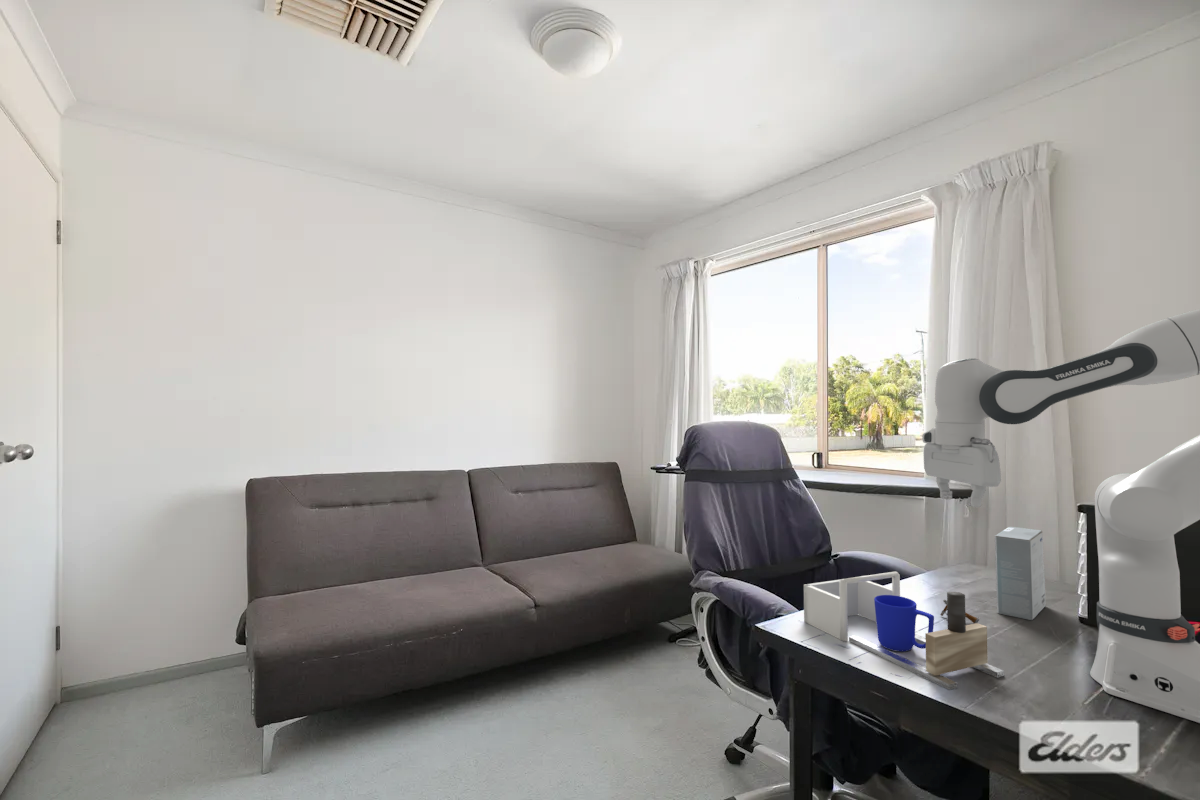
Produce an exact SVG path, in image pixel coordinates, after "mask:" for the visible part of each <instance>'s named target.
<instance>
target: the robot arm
mask: <svg viewBox="0 0 1200 800" xmlns="http://www.w3.org/2000/svg"><path fill="white" fill-rule="evenodd" d="M1198 375H1199V376H1200V308H1198V309H1195V310H1189V311H1187V312H1184V313H1179V314H1176V315H1173V316H1170V317H1167V318H1163V319H1161V320H1157V321H1154V322H1152V323H1149V324H1146V325H1144V326H1142V327H1139V328H1137V329H1134V330H1133V331H1131V332H1129V333H1127V334H1125V335H1123V336H1121V337H1119V338H1118V339H1116V340H1115V341H1114V342H1112V343H1111V344H1110V345H1108V346H1107V347H1105V348H1103V349H1101V350H1099V351H1097V352H1095V353H1092V354H1090V355H1087V356H1084V357H1081V358H1077V359H1073V360H1070V361H1067V362H1064V363H1061V364H1057V365H1054V366H1052V367H1050V366H1049V367H1047V368H1043V369H1038V370H1025V369H1024V370H1021V369H1019V370H1018V369H1013V370H1011V369H1010V370H1002V369H999V368H996V367H994V366H992V365H989V364H987V363H985V362H984V361H982V360H981V359H979V358H965V359H958V360H953V361H949V362H946V363H945V364H943V365H942V366H941V367H939V369H938V370H937V372H936V379H935V387H934V390H935V391H934V399H935V400H934V402H935V403H934V404H935V406H936V410H937V411H936V412H937V413H936V417H935V420H934V422H935V423H934V427H933V428H931V429H929V430H928V431H925V432H923V434H922V436H921V437H922V438H921V439H922V443H924V446H923V469H924V471H925V474H926V475H927V476H930V477H934V478H936V480H935V481H936V485H937V486H938V489H939V492H940V493H939V497H940V499H941V500H948V501H949V500H953V490H951V488H950V484H949V483H951V482H950V481H955V482H959V483H965V484H970V490H972V492H971V495H970V497H969V496H968V497H967V501H968V502H967V504H968V506H969V507H972V508H981V507H982V505H983V504H982V502H983V501H982V500H983V497H984V495H985V493H986V491H987V487H989V488H990V487H991V488H993V487H998V486H999V485H1000V483H1001V482H1002V474H1001V472H1002V471H1001V464H1000V458H999V453H998V450H996V447H995V445H994V444H993V442H991V440H990V439H988V438H986V425H985V424H986V420H987V418H990V419H992V420H993V421H996V422H998V423H1001V424H1003V425H1004V424H1006V425H1020V424H1024V423H1026V422H1027V423H1028V422H1029V421H1031V420H1034V419H1035V418H1036V417H1038V416H1040V415H1041V414H1042V413H1043V412H1045V411H1046V410H1047V409H1048V408H1049V407H1051V406H1053V405H1055V404H1057V403H1060V402H1062V401H1066V400H1069V399H1072V398H1075V397H1079V396H1082V395H1085V394H1089V393H1092V392H1096V391H1100V390H1103V389H1106V388H1111V387H1116V386H1117V387H1118V386H1128V385H1129V386H1150V385H1158V384H1164V383H1169V382H1176V381H1179V380H1185V379H1187V378H1188V379H1189V378H1192V377H1195V376H1198ZM1094 514H1095V529H1096V531H1095V532H1096V545H1097V547H1096V548H1097V556H1098V583H1099V584H1098V587H1099V588H1098V589H1099V591H1098V592H1099V600H1098V601H1097V602H1096V625H1097V629H1098V639H1097V644H1096V645H1097V646H1096V652H1095V657H1094V661H1093V663H1092V666H1091V669H1090V672H1089V675H1090V676H1091V677H1092V679H1094V681H1096V682H1097V683H1098V684H1100V685H1101V686H1102V689H1103V690H1104V692H1105V693H1107V694H1109V695H1112V696H1115V697H1118V698H1121V699H1125V700H1126V701H1127V700H1128V701H1131V702H1134V703H1136V704H1140V705H1143V706H1146V707H1149V708H1153V709H1154V710H1158V711H1161V712H1165V713H1168V714H1171V715H1174V716H1177V717H1180V718H1183V719H1186V720H1189V721H1193V722H1196V723H1198V724H1200V643H1199V642H1198V641H1197V640H1196V632H1198V631H1200V628H1199V627H1200V624H1199V623H1195V624H1191V623H1190V622H1189V621H1188V620H1186V618H1185V617H1184V616H1183V615H1182V614H1181V612H1182V609H1181V579H1180V578H1181V577H1180V576H1181V574H1180V567H1179V564H1178V558H1177V550H1176V544H1175V535H1176V534H1177V533H1179V532H1181V531H1182V530H1183V529H1186V528H1187V527H1189V526H1191V525H1193V524H1194V523H1197V522H1198V521H1200V434H1198V435H1196V436H1195V437H1193V438H1191V439H1188V440H1186V441H1185V442H1183V443H1181V444H1180V445H1177V446H1175V448H1173V449H1172V450H1170V451H1169V452H1168V453H1166V454H1164V455H1163V456H1161V457H1160V458H1158V459H1156V460H1155V461H1153V462H1151V463H1150V464H1148V465H1147V466H1145V467H1143V468H1141V469H1140V470H1138V471H1137V472H1134V473H1131V472H1129V473H1128V472H1126V473H1125V472H1124V473H1119V474H1118V473H1117V474H1114V475H1112V476H1110V477H1108V478H1105V480H1104V479H1103V481H1102V482H1100V484H1099V485H1098V486H1097V488H1096V490H1095V493H1094Z"/></svg>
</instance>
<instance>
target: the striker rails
mask: <svg viewBox="0 0 1200 800" xmlns="http://www.w3.org/2000/svg"><path fill="white" fill-rule="evenodd" d="M915 641H916V642H917V643H918V644H921V645H923V644H925V642H926V637H923V636H921V635H918V634H916V633H915ZM848 642H850V643H852V644H854V645H856V646H859V647H860V648H863V649H864V650H866V651H868V652H871V653H872V654H875V655H876V656H879V657H880V658H883V659H885V660H887V661H889V662H891V663H893V664H895V665H897V666H899V667H901V668H903V669H905V670H908V671H910V672H911V673H912V674H913V673H914V674H916V675H918V676H919V677H922V678H924V679H926V680H928V681H929V682H932V683H934V684H936V685H939V686H940V687H943V688H944V689H946V690H948V691H951V690H956V689H957V688H958V682H957V681H954V680H952V679H950V678H948V677H945V676H943V674H940V675H936V676H935V675H933V674H931V673H929V672H927V671H926V666H922V665H920V664H918V663H916V662H914V661H912V660H909V659H907V658H905V657H903V656H901V655H898V654H897V653H894V652H893V651H890V650H889V649H887V648H885V647H883V646H881V645H878V644H875V643H873V642H872V641H869V640H867V639H864V638H863V637H860V636H858V635H850V636H848ZM972 668H974V669H976V670H979V671H981V672H983V673H985V674H988V675H990V676H993V677H995V678H1002V677H1004V676H1005V670H1003V669H1001V668H999V667H996V666H994V665H991V664H989V663H986V664H982V665H978V666H973V667H972Z"/></svg>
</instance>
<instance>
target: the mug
mask: <svg viewBox="0 0 1200 800" xmlns="http://www.w3.org/2000/svg"><path fill="white" fill-rule="evenodd" d="M874 602H875V613H876V622H875V623H876V629H877V630H876V632H877V640H878V643H879V644H880V646H881V647H882V648H884V649H886V650H889V651H890V650H891V651H892V652H893V651H895V652H909V651H911V650H912V649H913V647H914V646H915V647H916V648H919V649H926V642H925V644H923V645H921V644H918V643H917V642H916V641H915V634H916V622H917V621H916V620H917V616H919V615H920V616H922V617H926V618H927V619H928V627H927V628H928V629H927V633H930V632H934V626H935V616H934V615H933V614H932V613H929V612H926V611H923V610H920V609H917V606H918V605H917V603H916V601H914V600H913V599H910V598H908V597H904V596H901V595H900V596H894V595H880V596H877V597H875V598H874Z"/></svg>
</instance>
